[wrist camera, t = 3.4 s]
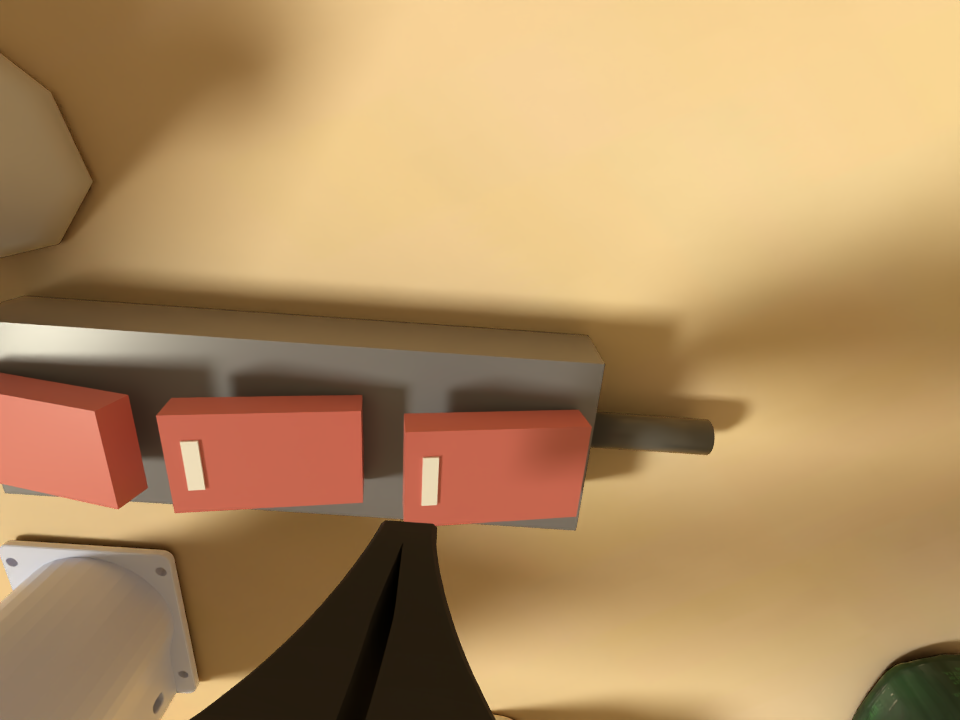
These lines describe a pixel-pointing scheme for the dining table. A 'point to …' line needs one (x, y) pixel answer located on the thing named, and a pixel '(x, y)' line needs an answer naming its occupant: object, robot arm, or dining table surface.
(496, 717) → the supplement bottle
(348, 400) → the block
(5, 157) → the flask
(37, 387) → the rocker
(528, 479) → the red rectangular block
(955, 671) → the coffee jar
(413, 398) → the power strip
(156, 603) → the robot arm
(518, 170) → the dining table surface
